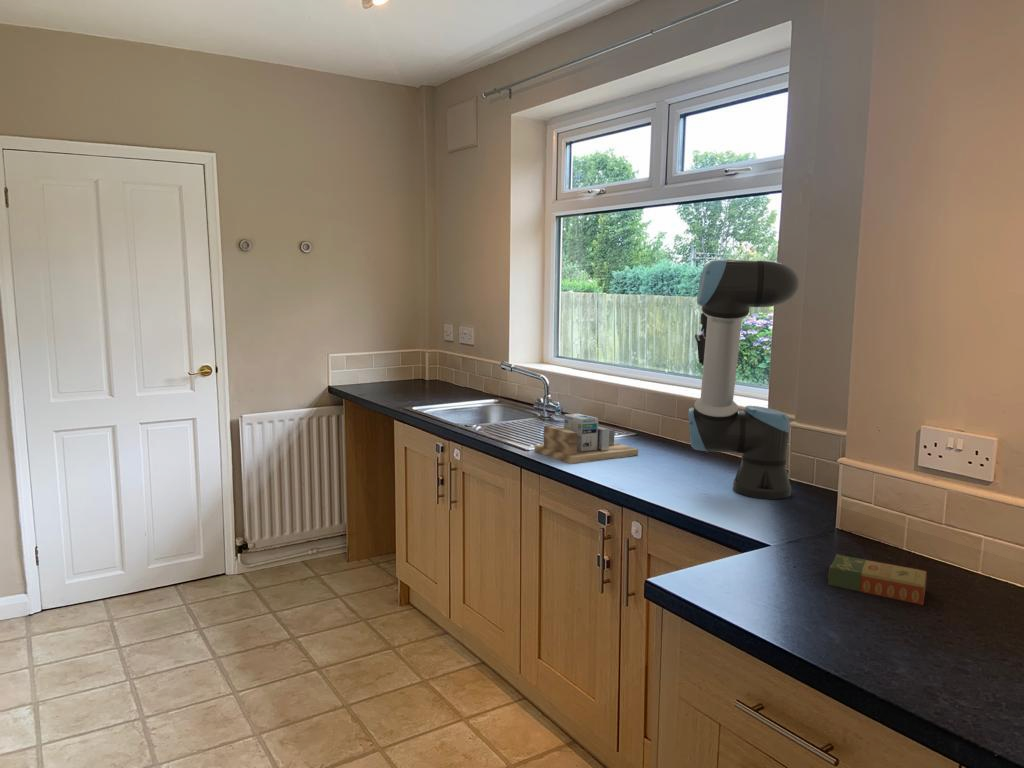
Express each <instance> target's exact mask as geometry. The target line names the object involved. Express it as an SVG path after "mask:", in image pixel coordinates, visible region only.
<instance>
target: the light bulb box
mask: <svg viewBox="0 0 1024 768" xmlns="http://www.w3.org/2000/svg"><path fill="white" fill-rule="evenodd" d="M563 419H564V421H563V429H567V430H570V431H573V432H577V450H578V451H581V452H582V451H591V450H597V444H598V426H599V418H598V417H595V416H590V415H586V414H581V413H567V414H566V413H565V414H564V417H563Z"/></svg>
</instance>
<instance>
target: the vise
mask: <svg viewBox="0 0 1024 768" xmlns="http://www.w3.org/2000/svg"><path fill="white" fill-rule="evenodd" d="M543 426H544V427H543V444H534V449H533V450H534V453H535V452H536V453H539V454H541V455H544V456H547V457H550V458H553V459H555V460H559V461H560V462H564V463H567V464H570V465H573V464H572V463H574V464H579V463H578V462H582V463H588V462H587V461H589V462H595V460H596V462H597V461H604V459H605V460H612V459H619V458H626V457H632V456H633V457H635V456H638V455H639V449H638V448H635V447H633V446H629V445H625V444H621V443H617V442H616V441H614V445H609V450H605V451H600V450H591V451H582V452H581V451H578V450H577V432H573V431H570V430H567V429H564V427H563V428H562V427H560V426H556V425H554V424H553V425H552V424H549V425H543Z"/></svg>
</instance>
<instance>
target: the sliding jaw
mask: <svg viewBox="0 0 1024 768" xmlns="http://www.w3.org/2000/svg"><path fill="white" fill-rule="evenodd" d="M614 442H615V430H614V429H610V428H607V427H604V426H600V425H598V444H597V450H600V451H605V450H609V445H614Z"/></svg>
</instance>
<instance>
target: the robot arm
mask: <svg viewBox="0 0 1024 768" xmlns="http://www.w3.org/2000/svg"><path fill="white" fill-rule="evenodd" d="M799 285H800V280H799V276H798V274H797V272H796V271H795V270H794V269H793V268H792V267H790V266H788V265H786V264H783V263H780V262H777V261H772V260H755V259H754V260H753V259H752V260H751V259H726V258H723V259H711V260H708V261H707V262H705V264H704V265H703V268H702V270H701V275H700V279H699V284H698V292H697V295H696V296H697V299H696V304H697V305H698V306H700V307H701V308H700V310H701V313H700V324H701V328H700V332H699V333H696V334H695V335H694V338H695V340H696V345H697V346H696V347H697V356H698V364H701V366H703V367H702V378H701V379H702V380H701V390H700V397H699V398H697V400H695V401H694V403H693V404H694V406H693V407H690V408H689V409H688V425H689V426H688V427H689V438H690V439H689V440H690V446H691V448H692V449H693V450H696V451H701V452H702V451H703V452H704V451H705V452H707V453H708V452H716V453H729V454H730V453H732V454H741V463H740V465H739V467H738V470H737V472H736V474H735V477H734V479H733V484H732V489H733V491H734V492H735V493H737V494H740V495H743V496H746V497H751V498H756V499H764V500H766V499H767V500H779V499H780V500H782V499H787V498H789V497H791V494H792V493H791V492H792V485H791V483H790V478H789V474H788V473H789V472H788V471H787V456H788V455H787V454H788V445H789V444H788V443H789V433H790V418H789V416H788V415H787V414H786V413H784V412H782V411H780V410H777V409H774V408H773V409H772V408H769V407H764V406H758V405H746V406H745V408H744V410H739V405H738V404H737V402H735V401H734V397H735V389H736V376H737V369H738V357H739V349H740V340H741V330H742V321H743V320H744V319H745V318H747V317H748V316H749V314H750V308H768V307H770V308H771V307H776V306H778V305H781V304H784V303H787V302H789V301H790V300H792V299H793V298H794V297H795V295H796V294H797V292H798V290H799V287H800V286H799Z"/></svg>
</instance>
